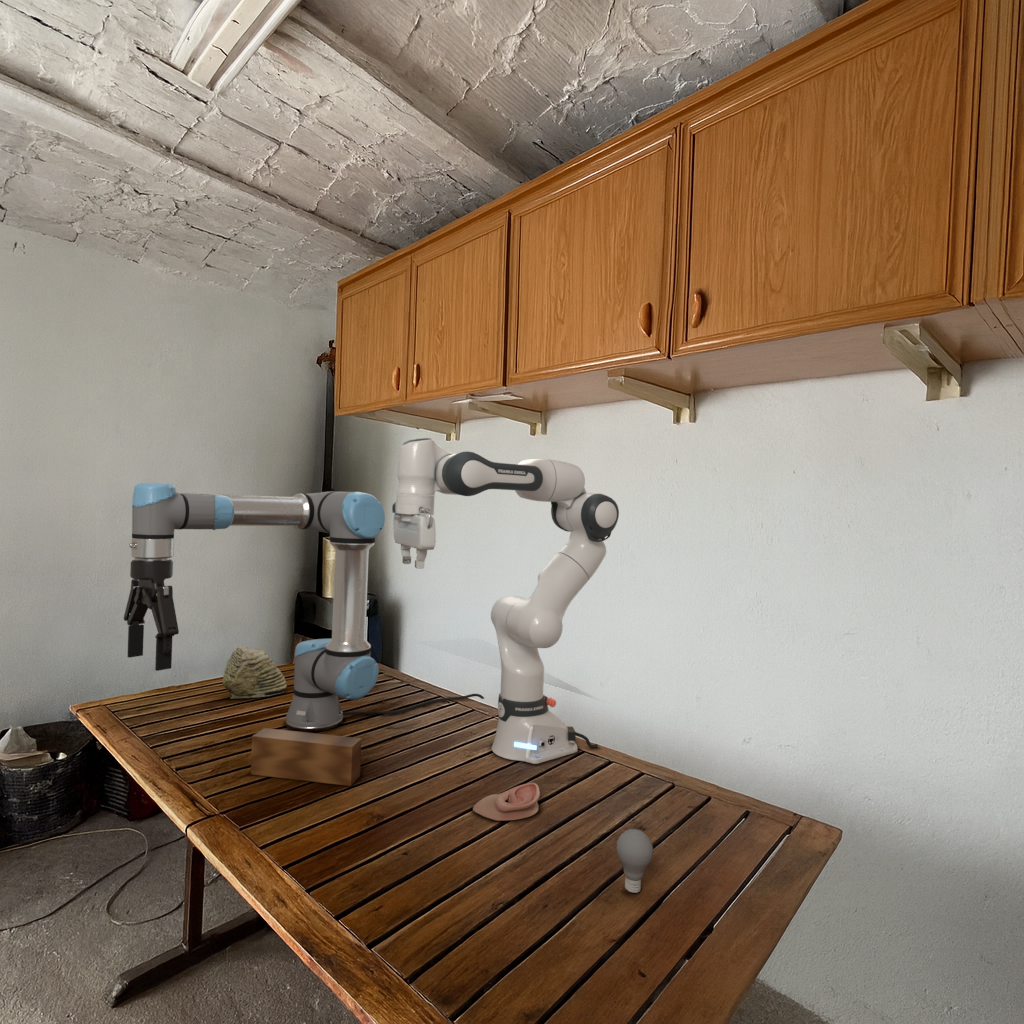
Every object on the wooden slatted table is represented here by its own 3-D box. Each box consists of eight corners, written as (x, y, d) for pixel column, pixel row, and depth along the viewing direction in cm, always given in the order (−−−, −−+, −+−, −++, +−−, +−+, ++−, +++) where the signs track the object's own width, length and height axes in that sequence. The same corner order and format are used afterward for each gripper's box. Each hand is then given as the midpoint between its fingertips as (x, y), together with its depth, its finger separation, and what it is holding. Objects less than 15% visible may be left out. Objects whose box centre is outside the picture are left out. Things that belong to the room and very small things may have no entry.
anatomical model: (469, 797, 128) (483, 773, 139) (468, 816, 128) (482, 791, 139) (534, 806, 125) (543, 781, 136) (533, 826, 125) (542, 799, 136)
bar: (250, 774, 143) (251, 736, 143) (263, 764, 148) (264, 727, 148) (350, 786, 139) (352, 746, 139) (360, 776, 144) (361, 738, 144)
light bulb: (610, 879, 108) (613, 822, 108) (644, 879, 109) (647, 822, 109) (619, 902, 102) (622, 840, 102) (655, 901, 103) (658, 840, 103)
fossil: (218, 695, 195) (220, 647, 195) (278, 685, 208) (279, 640, 207) (228, 703, 189) (230, 653, 188) (289, 692, 201) (290, 645, 201)
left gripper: (108, 554, 134) (105, 654, 134) (159, 565, 118) (155, 678, 119) (146, 552, 140) (143, 648, 140) (199, 563, 124) (196, 671, 124)
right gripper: (443, 509, 140) (441, 571, 141) (414, 506, 159) (412, 561, 159) (416, 508, 138) (414, 571, 138) (389, 505, 156) (387, 561, 156)
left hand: (148, 662), depth 129 cm, fingers open, 13 cm apart
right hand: (412, 566), depth 148 cm, fingers open, 8 cm apart
